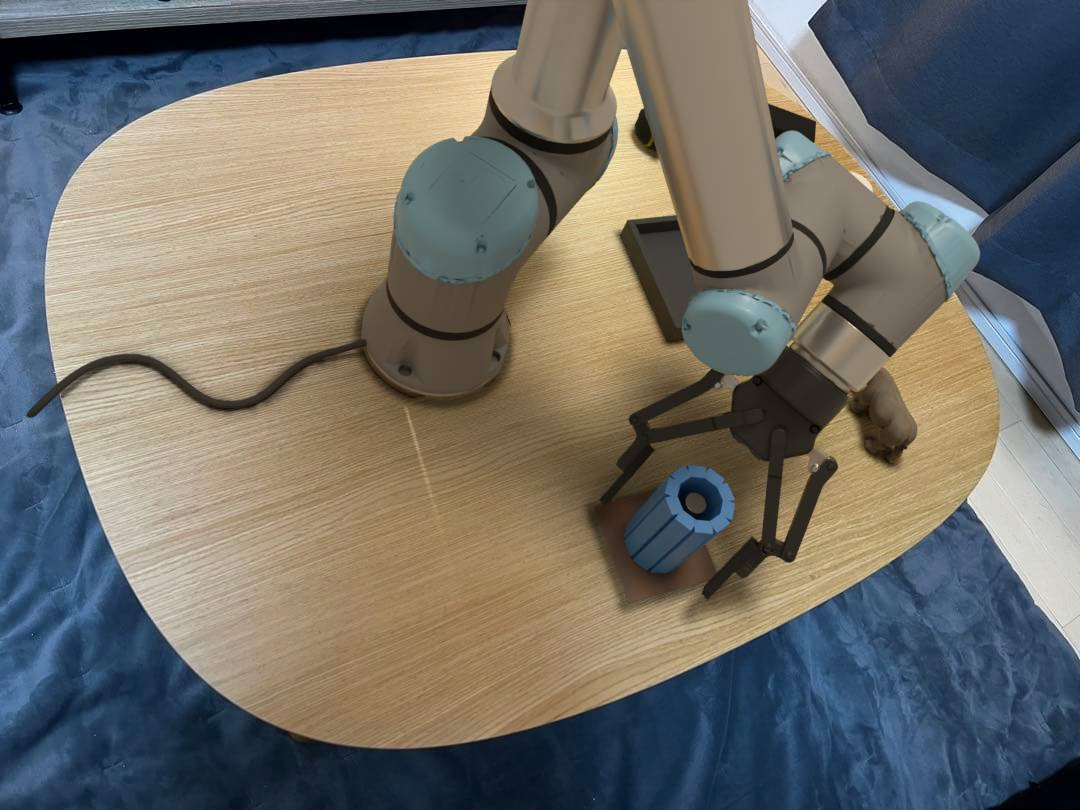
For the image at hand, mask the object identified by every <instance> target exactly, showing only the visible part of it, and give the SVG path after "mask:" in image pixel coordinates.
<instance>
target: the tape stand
mask: <svg viewBox="0 0 1080 810" xmlns="http://www.w3.org/2000/svg"><path fill="white" fill-rule="evenodd" d="M654 492H655V491H651V492H647V493H642V494H637V495H633V496H630V497H625V498H621V499H616V500H611V501H609V502H608V503H607V504H606V505H604V504H603V503H600V504H595V505H592V508H593V511H594V513H595V517H596V518H597V521H598V525H599V527H600V530H601V532H602V535H603V538H604V541H605V543H606V546H607V549H608V551H609V554H610V557H611V559H612V562H613V565H614V568H615V571H616V573H617V576H618V579H619V581H620V583H621V587H622V591H623V592H624V595H625V597H626V600H627V603H628V604H631V603H634V602H638V601H641V600H645V599H648V598H652V597H655V596H658V595H663V594H666V593H669V592H673V591H676V590H681V589H683V588H684V589H685V588H688V587H691V586H694V585H698V584H702V583H706V582H708V581H709V580H710V579H711V578H712V577H713V576H714V575H715V574H716V573H717V572H718V571H717V570H716V568H715V564H714V563H713V560H712V558H711V556H710V553H709V550H708V548H707V546H706V544H705V545H704V546H703V547H702V548H701V549H699V550H698V551H697V552H696V553H695V554H694V555H692V556H691V557H690V558H689V559H688V560H686V561H685V562H684V563H683V564H681V565H680V566H679V567H677V568H676V569H675V570H673V571H672V572H668V573H666V574H665V573H651V572H650V568H649V569H648V570H647V571H646V570H645V569H643V568H642V567H641V566H639V565H638V564H637V563H636V562H634V561H633V559H634V557H635V556H632V557H630V555H629V552H628V550H627V547H626V545H625V542H624V541H625V539H626V538H625V537H624V535H625V531H626V527H627V524H628V522H629V521H630V519H631V518H632V516H633V515H634V514H635V513H636V512H637V511H638V510H639V509H640V508H641V507H642V505H643V504H644V503H645V502H646V501H647V500H648V499H649V498H650V497H651V495H652V494H653V493H654ZM680 504H681V506H682V508H683V510H684V511H685V512H686V513H688V514H689V515H690V516H691V517H693V518H694V519H696V518H697V517H698V516H699V515H701V514H702V513H703V512H704V511H705V509H706V501H705V499H704V497H703V496H702V495H700V494H698V493H690V494H688V495H687V496H686V497H685V498H684V499H683V500H682V501H681V502H680Z"/></svg>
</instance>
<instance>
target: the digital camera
mask: <svg viewBox="0 0 1080 810" xmlns="http://www.w3.org/2000/svg"><path fill="white" fill-rule="evenodd" d="M768 106H769V111H770V116H771V121H772V126H773V131H774V136H775V139H776V138H777V137H778V136H780V135H781V134H783V133H784V132H787V131H797V132H799V133H801V134H802V135H804V136H805V137H806V138H808V139H809V140H810V141H812V142H813V143H814V144H815V143H816V131H817V130H816V129H817V121H816V120H814V119H812V118H809V117H806V116H803V115H801V114H798V113H795V112H793V111H790V110H788V109H784V108H782V107H779V106H777V105H774V104H771V103H768Z"/></svg>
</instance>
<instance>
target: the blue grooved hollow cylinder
mask: <svg viewBox="0 0 1080 810" xmlns="http://www.w3.org/2000/svg"><path fill="white" fill-rule="evenodd" d="M653 492H654V493H653V494H652V495H651V497H650V498H649V499H648V500H647V501H646V502H645V503H644V504H643V505H642V507H641V508H640V509H639V510H638V511H637V512H636V513H635V514H634V515H633V516H632V518H631V519H630V521H629V522H628V524H627V527H626V531H625V535H624V537H625V538H626V539H625V541H624V542H625V545H626V547H627V550H628V552H629V555H630V557H632V556H635V557H634V559H633V561H634V562H636V563H637V564H638V565H639V566H641V567H642V568H643V569H645V570H646V571H647V570H648V569H649V568H650V572H651V573H665V574H666V573H668V572H672V571H673V570H675V569H676V568H677V567H679V566H680V565H681V564H683V563H684V562H685V561H686V560H688V559H689V558H690V557H691V556H692V555H694V554H695V553H696V552H697V551H698V550H699V549H701V548H702V547H703V546H704V545H705V546H706V545H707V544H708V543H710V541H712V540H713V539H714V538H715V537H716V536H718V535H719V534H720V533H721V532H722V531H724V530H725V529H726V528H727V527H728V526H730V525H731V522H732V521H733V519H734V513H735V509H736V503H735V502H734V501H735V500H736V498H735V496H734V494H733V492H732V489H731V487H730V484H729V483H728V482H725V478H724V477H723V476H721V475H720V474H718V473H717V472H716V471H715V470H714V469H712V468H711V467H709V468H707V469H706V466H704V465H698V464H697V465H696V464H687V465H682V466H680V467H679V468H677V469H676V470H674V471H673V472H672V473H670V474H669V476H667V478H666V479H665V480H664V481H663V482H662V483H661V484H660V485H659V486H658V487H657V489H656V490H655V491H653ZM690 493H698V494H700V495H702V496H703V497H704V499H705V501H706V509H705V511H704V512H703V513H702V514H701V515H699V516H698V517H697V518H696V519H694V518H693V517H691V516H690V515H689V514H688V513H686V512H685V511H684V510H683V508H682V506H681V504H680V502H681V501H682V500H683V499H684V498H685V497H686V496H687V495H688V494H690Z"/></svg>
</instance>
